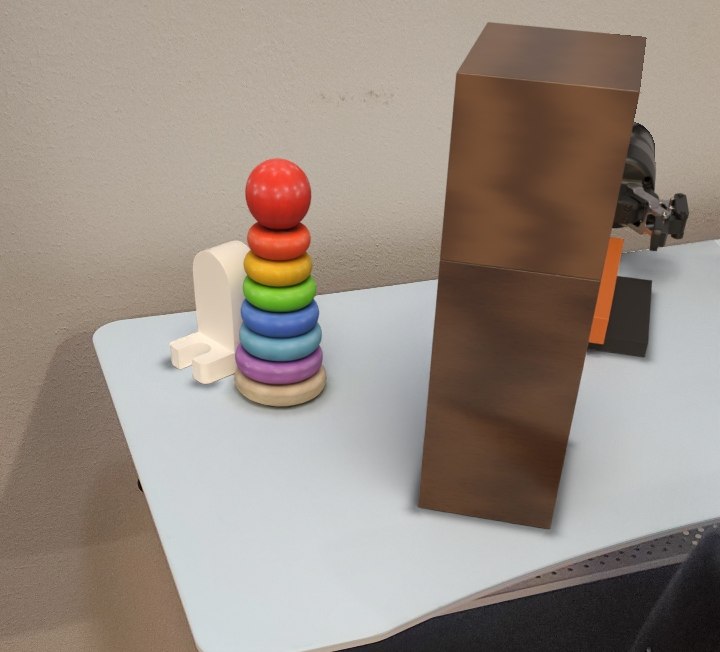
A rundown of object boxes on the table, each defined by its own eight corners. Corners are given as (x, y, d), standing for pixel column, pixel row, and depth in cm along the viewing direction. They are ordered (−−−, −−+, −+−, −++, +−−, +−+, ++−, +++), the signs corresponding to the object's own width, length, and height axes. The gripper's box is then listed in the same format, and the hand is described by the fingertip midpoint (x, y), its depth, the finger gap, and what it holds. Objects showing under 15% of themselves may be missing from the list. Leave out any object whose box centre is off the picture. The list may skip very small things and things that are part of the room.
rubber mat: (648, 294, 103) (652, 280, 102) (644, 357, 93) (648, 342, 92) (552, 281, 105) (554, 267, 104) (538, 342, 95) (540, 327, 94)
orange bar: (619, 262, 105) (624, 238, 103) (603, 344, 92) (608, 319, 90) (590, 258, 106) (595, 234, 104) (570, 339, 92) (575, 314, 91)
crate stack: (564, 443, 82) (646, 36, 62) (550, 529, 74) (640, 91, 53) (445, 425, 84) (487, 21, 63) (417, 507, 75) (456, 72, 55)
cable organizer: (290, 349, 92) (288, 242, 85) (204, 385, 87) (195, 274, 80) (254, 329, 95) (249, 223, 88) (168, 362, 90) (156, 253, 83)
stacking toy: (332, 408, 85) (335, 180, 72) (238, 413, 84) (224, 183, 71) (319, 362, 91) (320, 143, 78) (231, 367, 90) (217, 145, 77)
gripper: (560, 135, 107) (545, 187, 96) (695, 150, 105) (696, 205, 94) (549, 206, 113) (533, 264, 101) (677, 221, 110) (676, 282, 99)
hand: (611, 236), depth 97 cm, fingers open, 8 cm apart
